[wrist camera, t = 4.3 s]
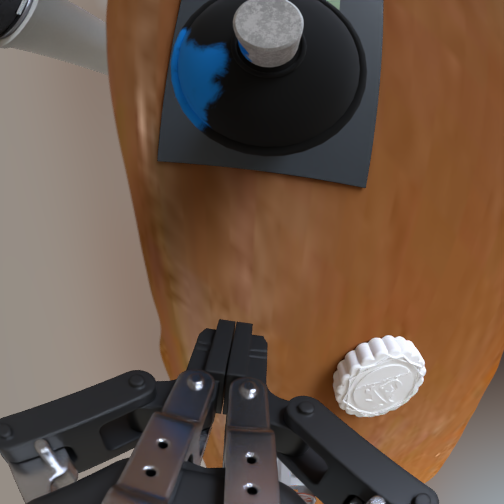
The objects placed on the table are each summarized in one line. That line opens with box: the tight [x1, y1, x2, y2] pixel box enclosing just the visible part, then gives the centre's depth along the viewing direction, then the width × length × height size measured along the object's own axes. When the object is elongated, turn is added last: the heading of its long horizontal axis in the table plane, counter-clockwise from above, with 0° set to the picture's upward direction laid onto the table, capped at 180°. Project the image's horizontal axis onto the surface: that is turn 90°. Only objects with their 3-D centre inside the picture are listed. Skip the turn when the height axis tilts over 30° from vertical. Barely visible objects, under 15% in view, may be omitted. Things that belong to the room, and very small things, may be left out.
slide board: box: [157, 0, 383, 188], centre depth 23 cm, size 20×26×1 cm
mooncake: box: [333, 335, 426, 417], centre depth 33 cm, size 12×12×4 cm
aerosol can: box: [171, 0, 367, 156], centre depth 16 cm, size 8×8×20 cm
